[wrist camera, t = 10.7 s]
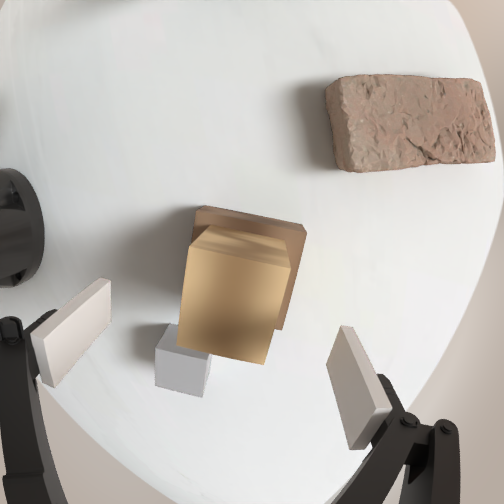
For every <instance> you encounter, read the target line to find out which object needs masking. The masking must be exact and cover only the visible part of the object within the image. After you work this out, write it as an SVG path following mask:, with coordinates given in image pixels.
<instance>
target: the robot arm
mask: <svg viewBox="0 0 504 504" xmlns="http://www.w3.org/2000/svg"><path fill="white" fill-rule="evenodd" d="M43 250H44V223H43V216H42V212H41V208H40V204H39V201H38V198H37V196H36V193H35V191H34V189H33V187H32V186H31V184H30V183H29V181H28V180H27V179H26V177H25V176H24V175H22V174H21V173H20V172H18V171H17V170H14V169H10V168H6V169H0V288H8V287H15V286H18V285H20V284H21V283H23V282H25V281H27V280H29V279H30V278H31V277H32V276H33V275H34V274H35V273H36V271H37V270H38V268H39V266H40V263H41V260H42V256H43ZM110 323H111V280H108V279H104V278H98V279H97V280H96V281H94V282H93V283H92V284H90V285H89V286H88V287H87V288H85V289H84V290H83V291H81V292H80V293H79V294H78V295H76V296H75V297H74V298H73V299H71V300H70V301H69V302H68V303H66V304H65V305H64V306H63V307H61V308H60V309H59V310H56V309H53V310H51V311H48V312H46V313H45V314H43V315H42V316H41V317H40V318H38V319H37V320H36V322H34V323H32V324H31V325H30V326H29V327H27V328H26V329H25V330H24V331H23V326H22V322H21V320H20V319H19V318H17V317H14V316H8V317H4V318H2V319H0V429H1V439H2V448H3V455H4V461H5V467H6V475H4V476H3V479H2V480H3V486H4V491H5V496H6V500H7V504H68V502H67V500H66V497H65V494H64V492H63V489H62V486H61V483H60V480H59V477H58V474H57V471H56V468H55V465H54V461H53V458H52V454H51V450H50V447H49V443H48V439H47V435H46V430H45V426H44V422H43V416H42V411H41V405H40V400H39V394H38V387H37V381H36V379H35V378H36V377H37V375H38V374H39V373H40V376H41V379H42V383H44V384H47V385H49V386H51V387H53V388H56V387H57V385H58V384H59V383H60V382H61V380H62V379H63V378H64V377H65V376H66V374H67V373H68V372H69V371H70V369H71V368H72V367H73V366H74V365H75V363H76V362H77V361H78V360H79V359H80V357H81V356H82V355H83V354H84V353H85V351H86V350H87V349H88V348H89V347H90V346H91V344H92V343H93V342H94V341H95V340H96V339H97V337H98V336H99V335H100V334H101V333H102V332H103V331H104V329H105V328H106V327H107V326H108V325H109V324H110ZM326 366H327V369H328V373H329V376H330V380H331V383H332V387H333V391H334V394H335V398H336V401H337V405H338V409H339V412H340V416H341V420H342V424H343V427H344V431H345V435H346V439H347V443H348V446H349V450H364V449H365V448H366V447H367V446H368V444H369V443H370V441H371V444H372V447H373V448H372V450H371V451H370V452H369V453H368V455H367V456H366V457H365V459H364V460H363V461H362V464H361V465H360V467H359V468H358V469H357V471H356V472H355V474H354V475H353V476H352V478H351V479H350V480H349V482H348V483H347V484H346V486H345V487H344V488H343V489H342V491H341V492H340V493H339V495H338V496H337V497H336V498H335V499H334V501H333V502H332V503H331V504H382V503H383V501H384V500H385V498H386V496H387V494H388V493H389V491H390V489H391V487H392V486H393V484H394V482H395V480H396V478H397V476H398V474H399V472H400V470H401V468H402V466H403V465H404V464H405V465H406V468H405V474H404V480H403V485H402V491H401V495H400V500H399V504H460V449H459V434H458V429H457V427H456V425H455V424H454V423H452V422H451V421H449V420H446V419H440V420H438V421H437V422H436V423H435V424H434V426H428V425H423V424H420V421H419V419H418V418H417V417H416V416H415V415H413V414H411V413H408V412H405V410H404V408H403V406H402V404H401V402H400V400H399V398H398V396H397V394H396V392H395V390H394V389H393V386H392V384H391V382H390V380H389V379H387V378H386V377H385V376H384V375H383V374H376V372H375V370H374V368H373V366H372V364H371V362H370V360H369V358H368V356H367V354H366V352H365V350H364V348H363V346H362V344H361V342H360V340H359V338H358V336H357V334H356V332H355V330H354V328H353V327H348V326H340V329H339V331H338V334H337V337H336V340H335V342H334V345H333V348H332V350H331V353H330V355H329V358H328V361H327V363H326Z"/></svg>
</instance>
